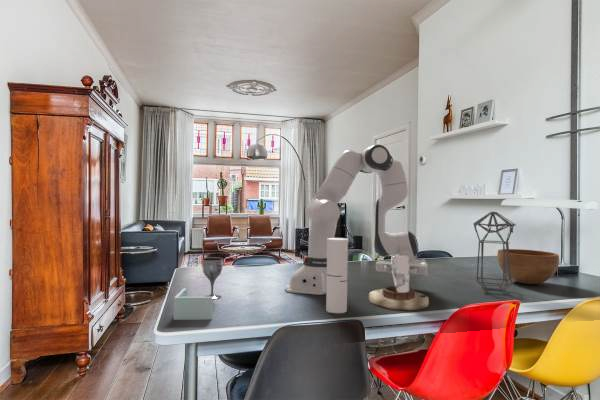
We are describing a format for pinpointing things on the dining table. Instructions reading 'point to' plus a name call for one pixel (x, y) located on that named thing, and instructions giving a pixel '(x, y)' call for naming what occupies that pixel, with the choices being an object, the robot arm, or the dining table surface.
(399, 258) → the beer glass
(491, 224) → the geometric lantern
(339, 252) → the cylindrical container
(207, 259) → the wine glass
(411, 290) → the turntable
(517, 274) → the bowl
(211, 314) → the right angle wall
